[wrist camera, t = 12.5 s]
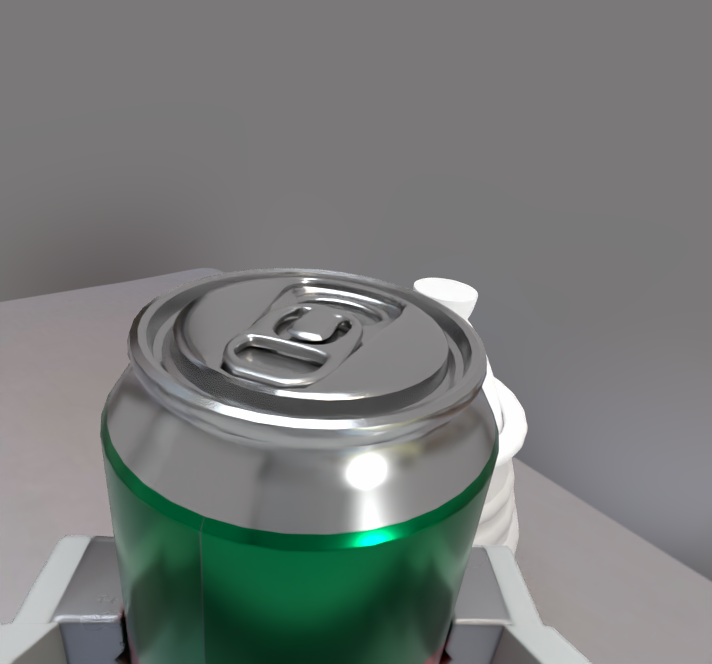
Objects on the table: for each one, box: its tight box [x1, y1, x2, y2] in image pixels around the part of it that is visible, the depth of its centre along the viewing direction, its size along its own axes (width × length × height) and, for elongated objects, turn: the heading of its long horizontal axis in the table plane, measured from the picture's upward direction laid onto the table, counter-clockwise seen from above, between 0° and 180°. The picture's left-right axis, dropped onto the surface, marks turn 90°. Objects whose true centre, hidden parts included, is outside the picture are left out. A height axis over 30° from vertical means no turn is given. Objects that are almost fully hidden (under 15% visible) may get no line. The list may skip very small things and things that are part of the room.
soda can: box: [100, 268, 499, 664], centre depth 9 cm, size 5×5×12 cm
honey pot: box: [413, 278, 527, 555], centre depth 26 cm, size 13×13×18 cm
